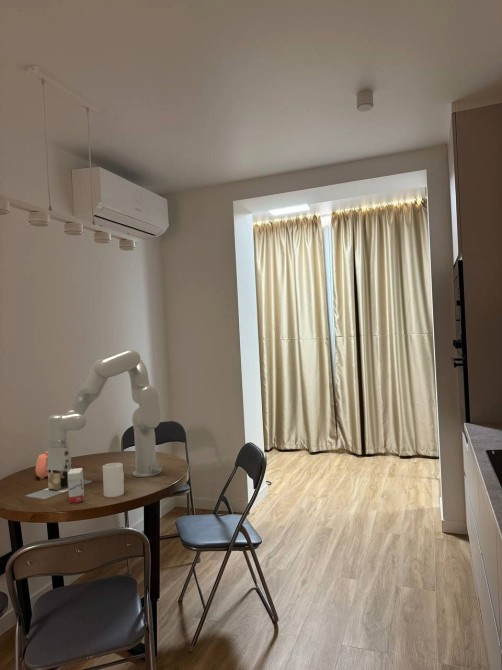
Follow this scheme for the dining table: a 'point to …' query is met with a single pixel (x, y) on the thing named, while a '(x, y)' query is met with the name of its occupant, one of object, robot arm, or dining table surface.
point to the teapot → (42, 466)
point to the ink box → (76, 485)
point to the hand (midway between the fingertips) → (59, 485)
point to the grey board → (51, 492)
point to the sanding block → (55, 481)
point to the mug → (113, 479)
